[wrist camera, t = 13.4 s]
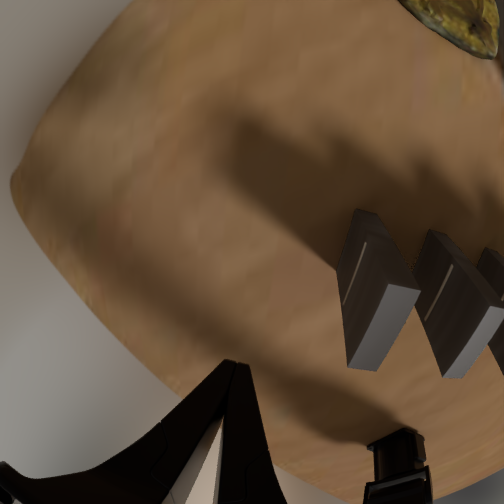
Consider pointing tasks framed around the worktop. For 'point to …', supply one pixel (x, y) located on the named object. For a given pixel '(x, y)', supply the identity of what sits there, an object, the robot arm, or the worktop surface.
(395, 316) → the domino
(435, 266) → the domino
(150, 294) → the worktop surface
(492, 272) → the domino
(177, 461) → the robot arm
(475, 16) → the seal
